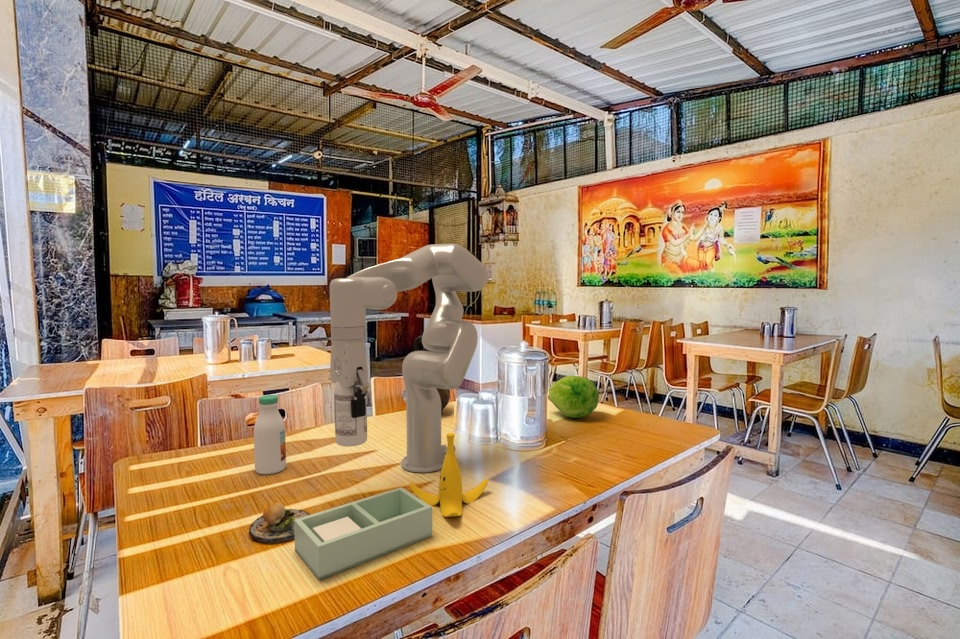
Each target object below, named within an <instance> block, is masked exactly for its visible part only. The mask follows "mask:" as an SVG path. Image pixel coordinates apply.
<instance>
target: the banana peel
mask: <svg viewBox="0 0 960 639" xmlns="http://www.w3.org/2000/svg"><path fill="white" fill-rule="evenodd" d="M446 442H447V446H446V447H447V453H446V455H445V459H444V462H443V466H442V469H440V475H439V483H438V494H432V493H430V492H427V491H424V490H423V489H422V488H420V487H418V486H417V485H415V484H414V483H413V482H410V483H408V486H409V488H410V490H411V491H412V493H414V494H415V496H416V497H417V498H419V499H421V500H422V501H424V502H425V503H427V504H428V505H430V506H431V507H433V506H434V507H435V506H436V505H437V504H439V506H440V507H439V508H440V513H441V516H442V517H447V518H448V517H449V518H450V517H462V515H463V514H464V513H463V512H464V510H463V503H465V504H468V505H470V504H472V503H475V501H477V500H478V498H479V497H480V496H481V495H482V494H483V492H484V490H485V489H486V487H487V485H488V483H489V479H487V478H485V479H484V480H482V481H481V483H479V484H478V485H477V486H475V487H474V488H472V489H471V490H468V491H467V492H464V493H463V483H462V475H461V470H460V466H459V462H458V459H457V456H456V455H455V454H456V453H455V452H454V446H455V445H454V444H455V443H454V442H455V432H448V433H446Z"/></svg>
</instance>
